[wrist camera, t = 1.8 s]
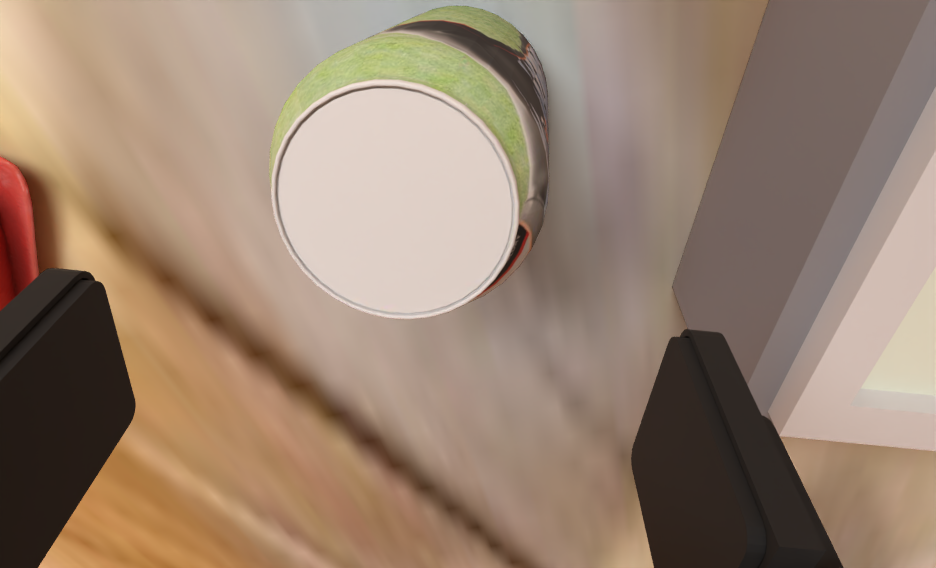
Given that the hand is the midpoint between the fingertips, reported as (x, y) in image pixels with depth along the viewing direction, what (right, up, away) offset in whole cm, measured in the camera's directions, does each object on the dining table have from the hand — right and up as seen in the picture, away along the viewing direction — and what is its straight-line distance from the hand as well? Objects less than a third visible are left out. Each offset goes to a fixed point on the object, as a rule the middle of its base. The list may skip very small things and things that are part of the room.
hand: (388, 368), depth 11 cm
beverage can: (+1, +9, +12) cm, 15 cm away
